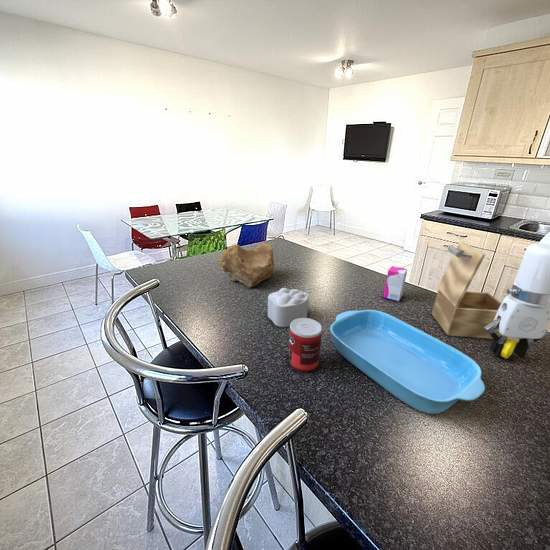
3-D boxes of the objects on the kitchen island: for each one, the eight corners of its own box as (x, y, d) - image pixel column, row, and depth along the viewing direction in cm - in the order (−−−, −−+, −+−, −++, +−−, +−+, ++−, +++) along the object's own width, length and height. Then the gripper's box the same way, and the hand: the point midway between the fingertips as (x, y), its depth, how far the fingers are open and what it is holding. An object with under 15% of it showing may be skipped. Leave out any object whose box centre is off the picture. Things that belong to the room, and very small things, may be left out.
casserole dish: (493, 394, 67) (503, 370, 64) (444, 446, 55) (454, 418, 52) (363, 321, 94) (367, 301, 91) (312, 344, 82) (314, 323, 79)
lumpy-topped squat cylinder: (264, 313, 97) (264, 289, 94) (297, 304, 103) (298, 282, 100) (279, 329, 89) (280, 304, 86) (314, 319, 95) (316, 295, 91)
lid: (462, 241, 89) (445, 237, 89) (485, 254, 77) (466, 250, 77) (439, 288, 96) (424, 284, 96) (457, 307, 84) (439, 303, 84)
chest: (479, 317, 98) (488, 292, 94) (502, 339, 87) (513, 312, 83) (431, 313, 99) (438, 289, 96) (447, 335, 88) (455, 308, 84)
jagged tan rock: (232, 297, 109) (233, 261, 102) (216, 278, 121) (216, 244, 114) (284, 286, 120) (289, 253, 113) (265, 269, 133) (268, 238, 126)
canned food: (296, 348, 80) (298, 314, 76) (323, 359, 77) (327, 323, 72) (282, 364, 74) (284, 328, 70) (311, 376, 71) (314, 339, 66)
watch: (507, 363, 76) (514, 344, 74) (495, 357, 78) (502, 339, 76) (515, 354, 79) (523, 336, 77) (504, 349, 82) (511, 331, 79)
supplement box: (402, 296, 111) (408, 268, 106) (398, 302, 106) (405, 273, 102) (386, 292, 114) (391, 265, 109) (382, 298, 109) (387, 269, 105)
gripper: (502, 299, 69) (480, 360, 76) (581, 303, 67) (551, 365, 74) (484, 285, 76) (466, 343, 83) (556, 289, 74) (530, 347, 81)
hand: (506, 353), depth 79 cm, fingers closed on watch, 5 cm apart
